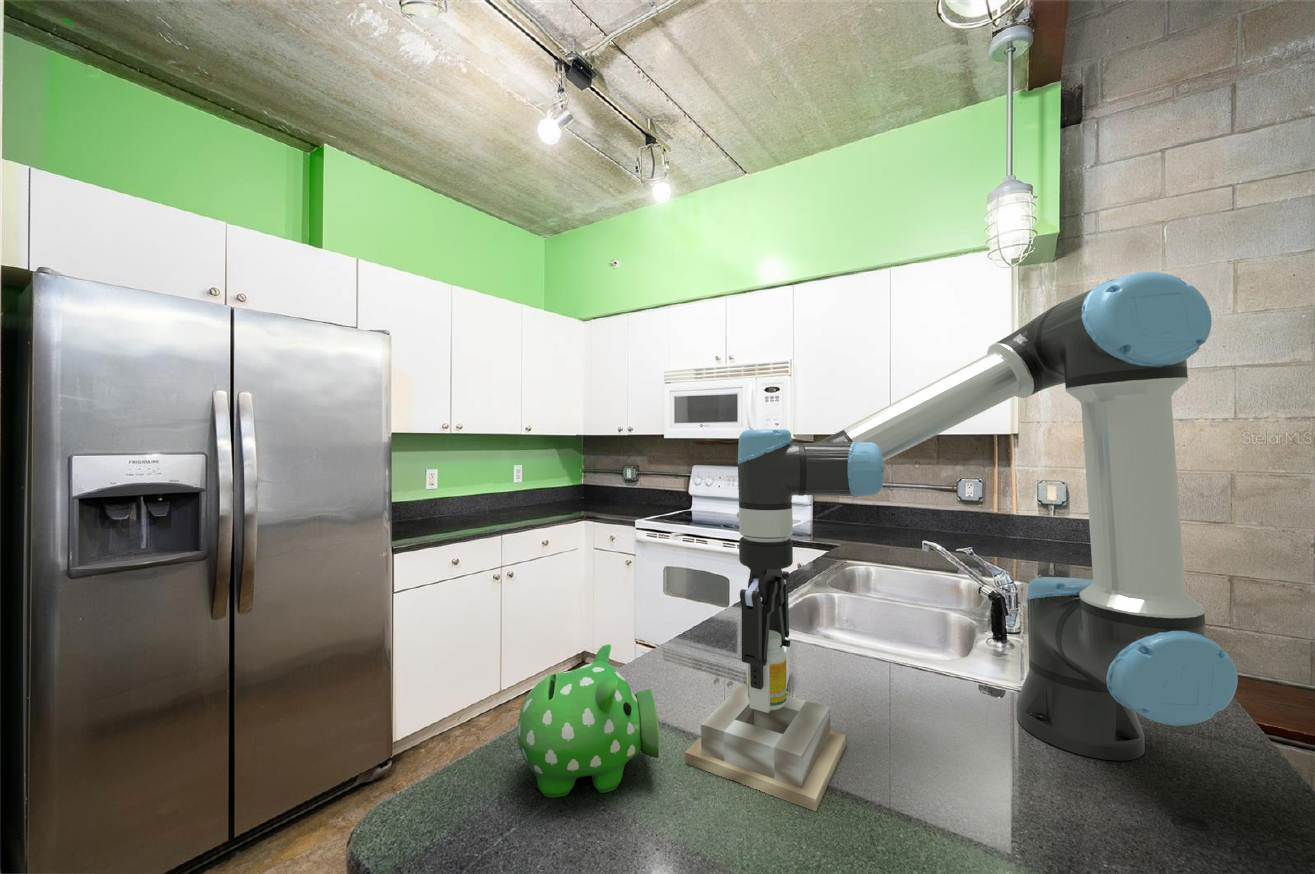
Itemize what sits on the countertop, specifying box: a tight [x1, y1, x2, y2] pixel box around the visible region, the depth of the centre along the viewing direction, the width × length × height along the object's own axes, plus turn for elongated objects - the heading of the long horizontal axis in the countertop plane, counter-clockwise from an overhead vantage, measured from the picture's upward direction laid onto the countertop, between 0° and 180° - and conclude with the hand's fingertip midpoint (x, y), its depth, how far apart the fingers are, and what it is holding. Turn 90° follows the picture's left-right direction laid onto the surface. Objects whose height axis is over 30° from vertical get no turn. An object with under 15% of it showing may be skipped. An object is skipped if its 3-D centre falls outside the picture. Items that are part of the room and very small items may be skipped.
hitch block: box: [684, 683, 847, 812], centre depth 74 cm, size 18×16×6 cm
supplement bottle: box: [747, 630, 787, 710], centre depth 74 cm, size 5×5×10 cm
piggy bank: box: [517, 643, 660, 798], centre depth 70 cm, size 14×18×15 cm
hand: (767, 699), depth 74 cm, fingers closed on supplement bottle, 5 cm apart
